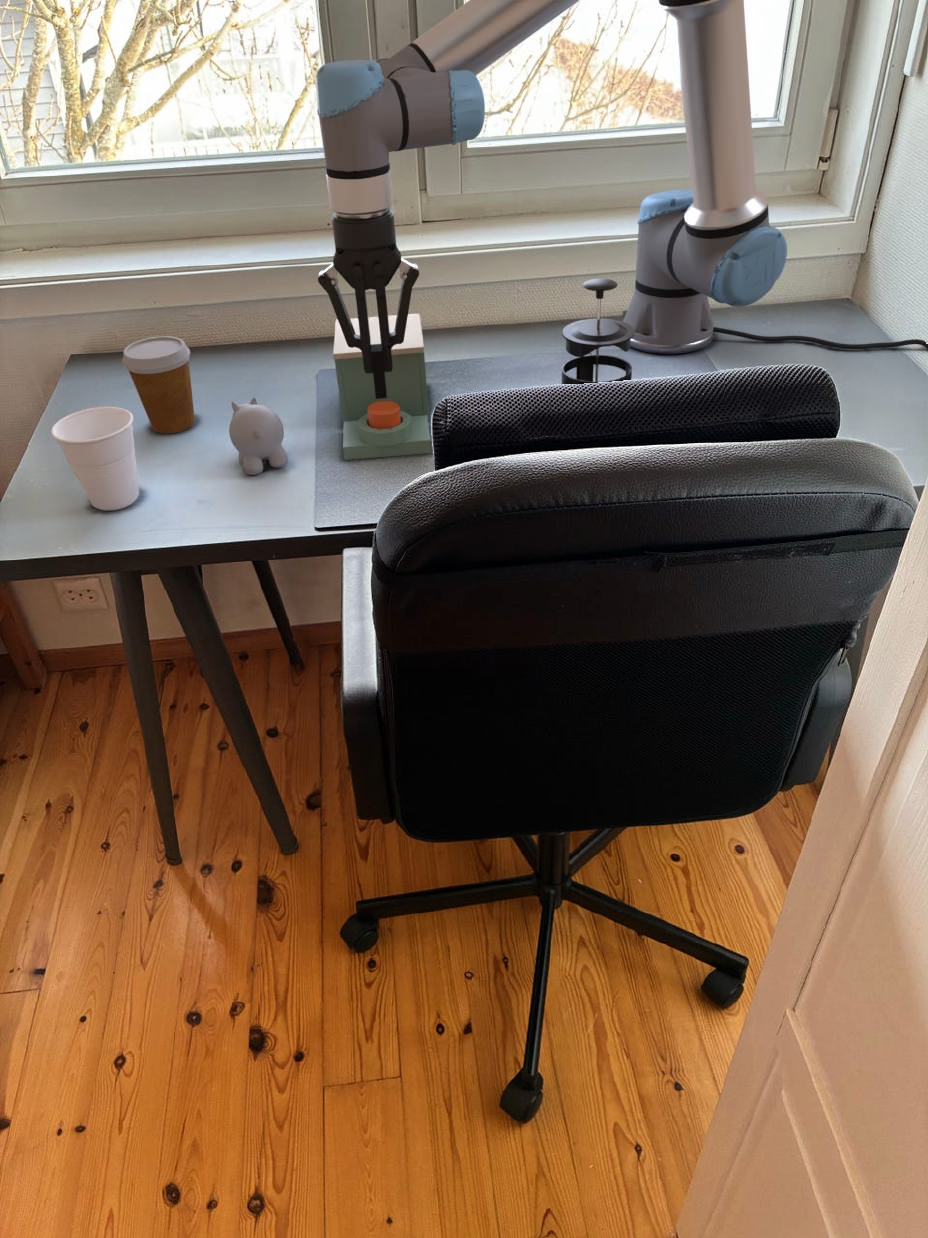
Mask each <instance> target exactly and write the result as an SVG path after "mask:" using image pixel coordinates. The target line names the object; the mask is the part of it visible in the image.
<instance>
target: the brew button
mask: <svg viewBox="0 0 928 1238" xmlns="http://www.w3.org/2000/svg"><path fill="white" fill-rule="evenodd" d="M367 410H368V419H369V425H370V427H372V428H376V429H388V428H393V427H395V426H398V425H399V424H400V423H401V418H400V408H399V405H398V404H397V403H395V402H391V401H380V402H376V403H373V404H371V405H370V406H369V407H368V409H367Z"/></svg>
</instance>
